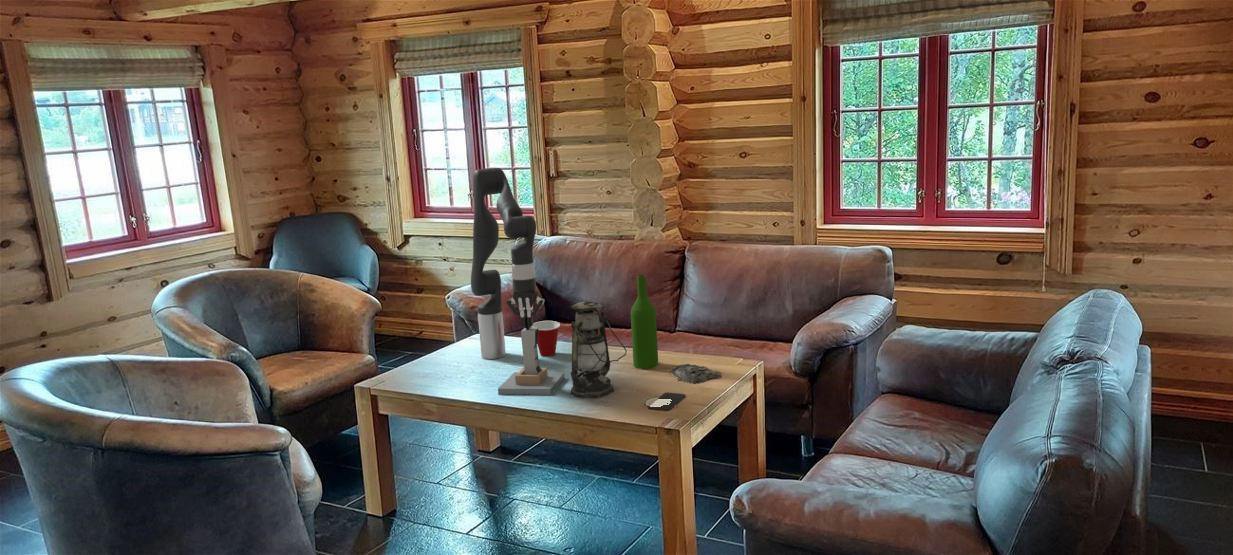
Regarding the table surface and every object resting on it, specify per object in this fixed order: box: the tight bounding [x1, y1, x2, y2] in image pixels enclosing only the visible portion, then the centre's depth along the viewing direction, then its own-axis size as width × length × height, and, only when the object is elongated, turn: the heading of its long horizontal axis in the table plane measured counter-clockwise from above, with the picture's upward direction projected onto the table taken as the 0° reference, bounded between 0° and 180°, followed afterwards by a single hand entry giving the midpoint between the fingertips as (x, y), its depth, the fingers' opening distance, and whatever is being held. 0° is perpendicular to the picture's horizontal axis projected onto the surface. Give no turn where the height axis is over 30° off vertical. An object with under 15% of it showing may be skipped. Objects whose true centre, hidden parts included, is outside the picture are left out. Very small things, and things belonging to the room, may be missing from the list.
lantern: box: [569, 300, 627, 399], centre depth 287 cm, size 19×19×30 cm
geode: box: [670, 363, 723, 385], centre depth 301 cm, size 19×4×15 cm
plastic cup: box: [531, 320, 561, 357], centre depth 337 cm, size 11×11×12 cm
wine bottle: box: [630, 274, 659, 370], centre depth 313 cm, size 9×9×32 cm
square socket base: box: [497, 367, 566, 396], centre depth 300 cm, size 18×18×5 cm
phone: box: [647, 391, 687, 412], centre depth 276 cm, size 7×1×15 cm
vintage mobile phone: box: [520, 307, 542, 375], centre depth 297 cm, size 4×5×25 cm
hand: (527, 327), depth 296 cm, fingers closed on vintage mobile phone, 1 cm apart
